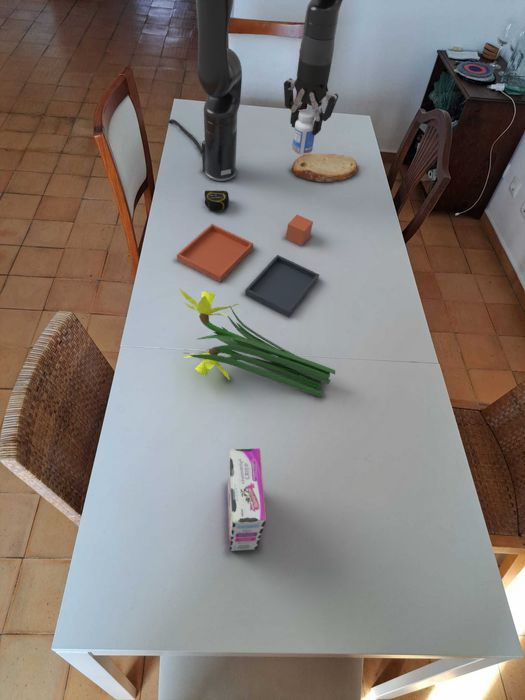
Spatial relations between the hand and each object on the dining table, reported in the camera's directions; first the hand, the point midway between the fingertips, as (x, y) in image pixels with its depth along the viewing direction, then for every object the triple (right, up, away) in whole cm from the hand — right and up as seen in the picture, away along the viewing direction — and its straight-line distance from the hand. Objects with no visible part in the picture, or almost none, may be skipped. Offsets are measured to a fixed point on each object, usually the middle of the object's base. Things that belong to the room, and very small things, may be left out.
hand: (304, 129), depth 117 cm
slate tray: (-6, -41, -4) cm, 42 cm away
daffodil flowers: (-13, -60, -19) cm, 64 cm away
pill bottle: (0, -3, +5) cm, 6 cm away
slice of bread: (+9, +1, +28) cm, 30 cm away
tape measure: (-24, -15, +13) cm, 32 cm away
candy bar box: (-14, -86, -38) cm, 95 cm away
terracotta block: (-1, -26, +8) cm, 27 cm away
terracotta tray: (-23, -32, +1) cm, 39 cm away
